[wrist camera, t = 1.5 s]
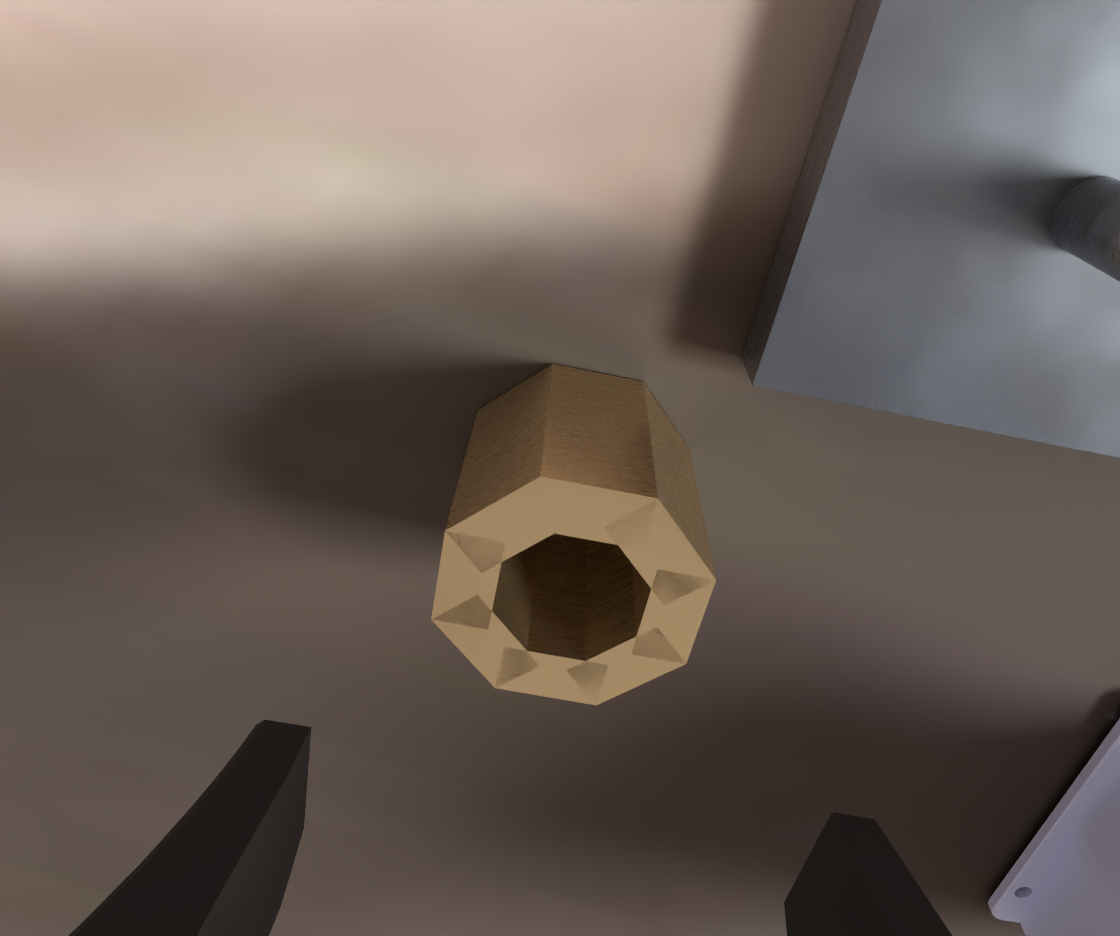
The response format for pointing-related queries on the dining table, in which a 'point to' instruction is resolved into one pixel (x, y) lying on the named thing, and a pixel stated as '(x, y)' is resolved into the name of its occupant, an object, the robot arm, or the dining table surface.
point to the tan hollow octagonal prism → (574, 540)
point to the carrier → (959, 224)
